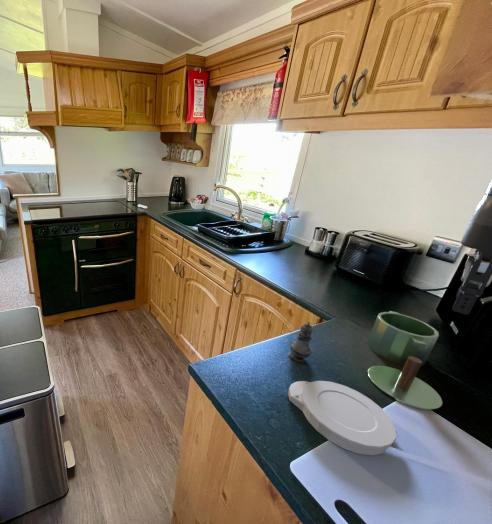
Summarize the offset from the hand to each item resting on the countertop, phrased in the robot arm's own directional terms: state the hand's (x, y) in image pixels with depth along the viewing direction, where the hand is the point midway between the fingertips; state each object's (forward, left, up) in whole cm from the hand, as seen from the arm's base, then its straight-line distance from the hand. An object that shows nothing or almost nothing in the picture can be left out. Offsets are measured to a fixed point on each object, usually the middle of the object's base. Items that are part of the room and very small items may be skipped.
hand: (461, 305), depth 56 cm
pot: (-7, -29, -29) cm, 41 cm away
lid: (+15, +7, -29) cm, 33 cm away
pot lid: (-3, -11, -28) cm, 30 cm away
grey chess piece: (+21, -12, -29) cm, 38 cm away
